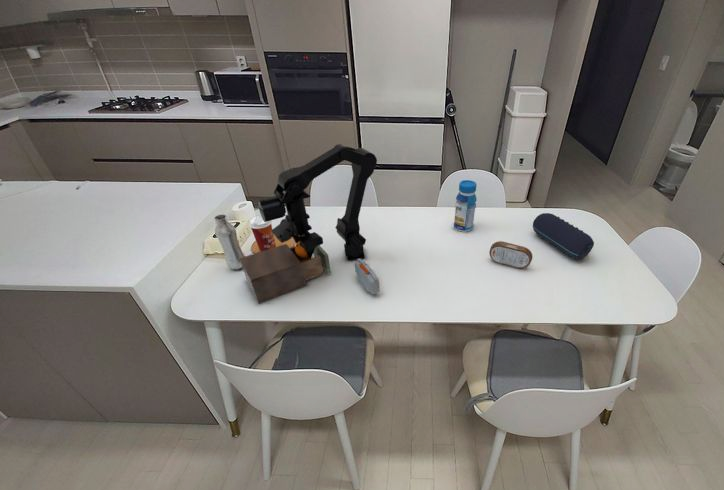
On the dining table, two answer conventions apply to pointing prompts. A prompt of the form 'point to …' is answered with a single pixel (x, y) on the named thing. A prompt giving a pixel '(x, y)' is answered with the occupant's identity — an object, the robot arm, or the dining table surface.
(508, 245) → the tin
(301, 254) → the orange
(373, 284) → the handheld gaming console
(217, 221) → the plastic bottle
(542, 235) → the portable speaker
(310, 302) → the dining table surface
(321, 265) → the drawer
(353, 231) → the robot arm
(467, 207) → the beverage bottle
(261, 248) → the paper cup
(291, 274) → the cabinet
